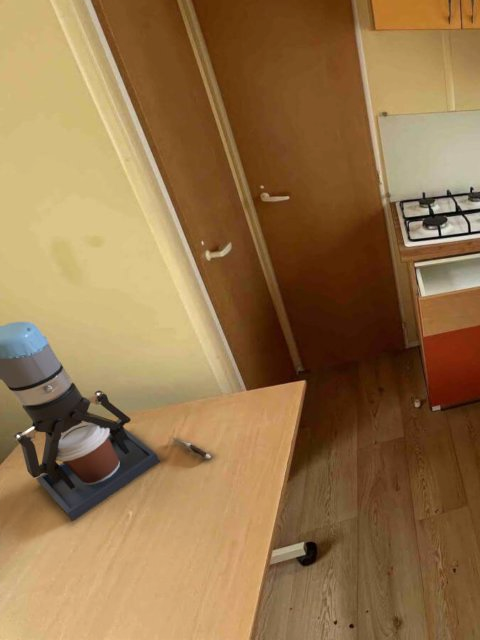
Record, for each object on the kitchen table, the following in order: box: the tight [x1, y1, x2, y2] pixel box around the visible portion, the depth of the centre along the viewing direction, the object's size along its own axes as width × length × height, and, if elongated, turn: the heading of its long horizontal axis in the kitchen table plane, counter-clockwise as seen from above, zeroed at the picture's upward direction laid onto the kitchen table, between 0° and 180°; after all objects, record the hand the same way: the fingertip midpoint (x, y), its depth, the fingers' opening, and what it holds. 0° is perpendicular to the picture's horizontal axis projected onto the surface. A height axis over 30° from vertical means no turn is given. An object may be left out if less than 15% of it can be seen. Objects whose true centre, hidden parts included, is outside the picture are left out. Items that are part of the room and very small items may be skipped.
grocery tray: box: [35, 427, 161, 522], centre depth 94 cm, size 16×16×3 cm
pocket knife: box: [172, 437, 211, 460], centre depth 100 cm, size 14×1×2 cm, turn 67°
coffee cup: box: [56, 422, 120, 485], centre depth 92 cm, size 9×9×12 cm
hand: (98, 467), depth 94 cm, fingers closed on coffee cup, 9 cm apart
